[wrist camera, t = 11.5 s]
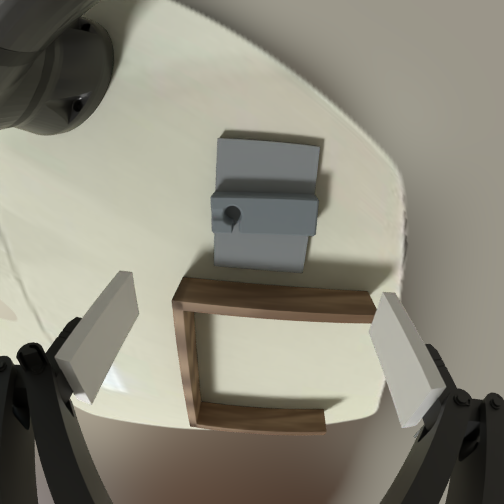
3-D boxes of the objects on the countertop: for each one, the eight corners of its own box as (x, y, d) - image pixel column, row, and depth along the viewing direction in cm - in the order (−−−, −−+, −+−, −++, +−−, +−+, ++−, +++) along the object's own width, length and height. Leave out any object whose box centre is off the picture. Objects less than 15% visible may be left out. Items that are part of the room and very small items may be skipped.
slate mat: (219, 137, 28) (217, 138, 27) (318, 146, 28) (320, 147, 27) (215, 261, 34) (214, 265, 33) (301, 268, 34) (302, 273, 33)
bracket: (313, 229, 31) (316, 236, 29) (214, 227, 31) (211, 234, 29) (316, 193, 29) (319, 198, 27) (213, 191, 29) (209, 195, 28)
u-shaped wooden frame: (183, 277, 35) (171, 300, 31) (367, 291, 35) (379, 315, 30) (195, 404, 47) (190, 426, 42) (322, 412, 46) (324, 434, 42)
